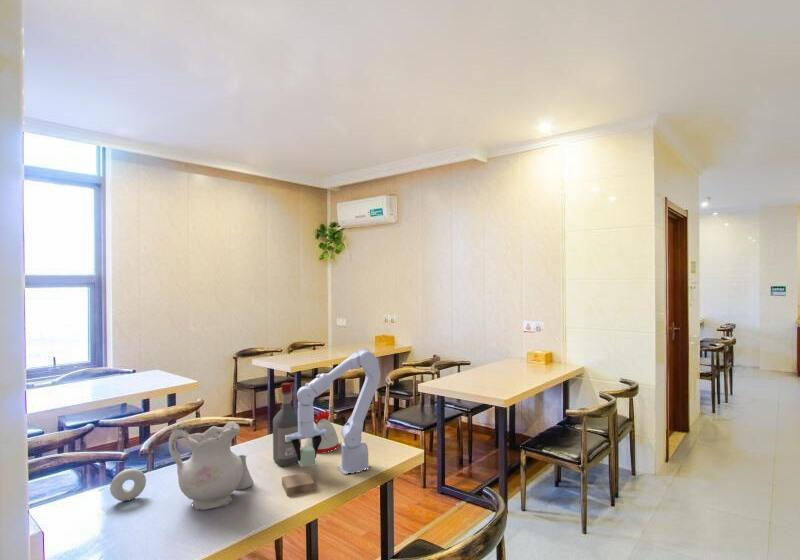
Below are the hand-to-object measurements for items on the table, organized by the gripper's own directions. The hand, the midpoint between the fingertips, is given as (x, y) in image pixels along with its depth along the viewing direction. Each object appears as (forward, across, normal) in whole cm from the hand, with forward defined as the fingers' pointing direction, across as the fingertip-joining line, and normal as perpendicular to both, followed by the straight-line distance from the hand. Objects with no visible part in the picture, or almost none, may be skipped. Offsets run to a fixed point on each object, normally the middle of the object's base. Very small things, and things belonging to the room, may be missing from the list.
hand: (306, 458), depth 165 cm
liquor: (+6, +4, -15) cm, 17 cm away
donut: (+6, +56, -6) cm, 57 cm away
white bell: (+6, -12, -24) cm, 27 cm away
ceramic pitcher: (+6, +33, +6) cm, 34 cm away
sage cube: (+2, 0, 0) cm, 2 cm away
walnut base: (+6, +5, +9) cm, 12 cm away
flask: (+6, +22, -1) cm, 23 cm away
